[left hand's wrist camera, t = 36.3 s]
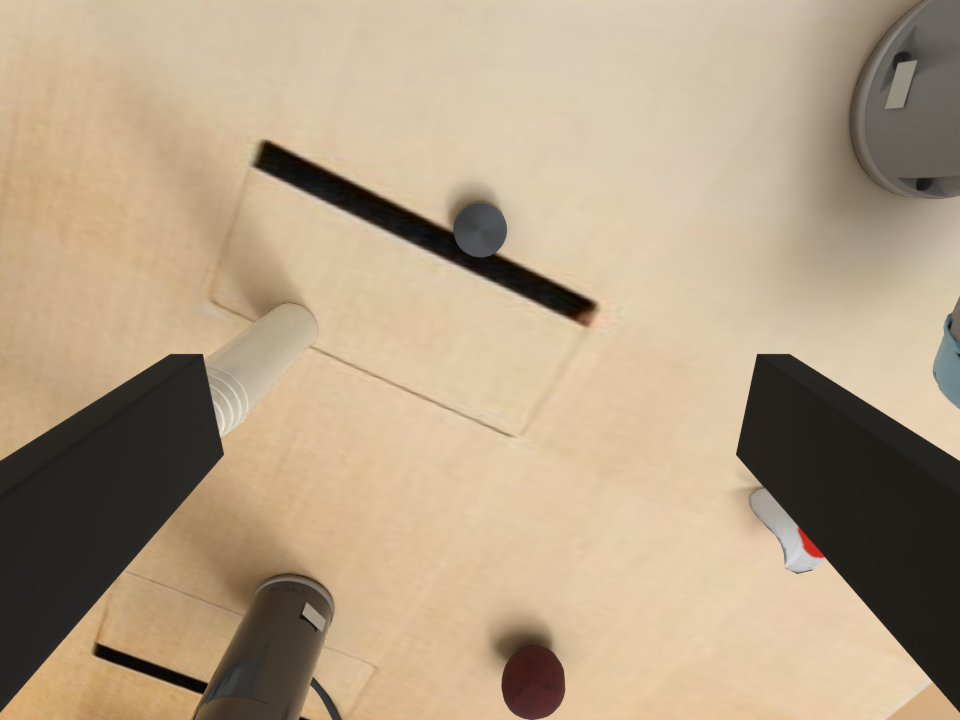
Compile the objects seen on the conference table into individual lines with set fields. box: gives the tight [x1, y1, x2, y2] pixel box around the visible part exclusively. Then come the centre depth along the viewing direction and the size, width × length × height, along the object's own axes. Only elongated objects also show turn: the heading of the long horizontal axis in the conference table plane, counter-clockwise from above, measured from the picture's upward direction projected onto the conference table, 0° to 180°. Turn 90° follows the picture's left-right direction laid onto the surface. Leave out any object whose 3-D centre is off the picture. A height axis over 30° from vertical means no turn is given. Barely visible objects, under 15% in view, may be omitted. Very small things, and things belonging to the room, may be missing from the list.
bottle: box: [204, 303, 318, 438], centre depth 38 cm, size 5×5×21 cm
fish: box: [749, 488, 826, 574], centre depth 51 cm, size 11×16×10 cm
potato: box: [501, 646, 565, 720], centre depth 60 cm, size 7×8×7 cm
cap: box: [454, 201, 507, 257], centre depth 44 cm, size 4×4×2 cm
